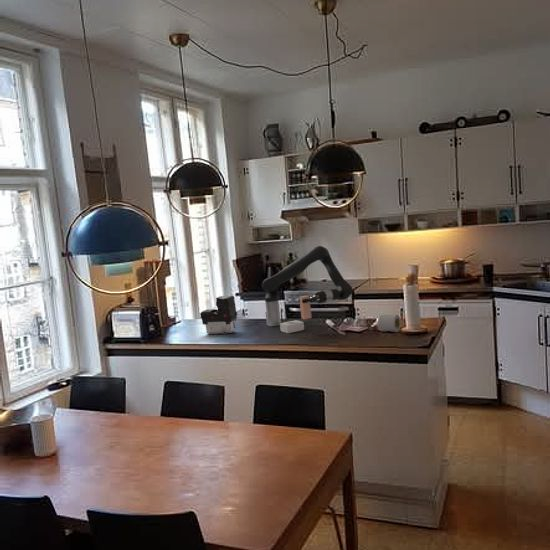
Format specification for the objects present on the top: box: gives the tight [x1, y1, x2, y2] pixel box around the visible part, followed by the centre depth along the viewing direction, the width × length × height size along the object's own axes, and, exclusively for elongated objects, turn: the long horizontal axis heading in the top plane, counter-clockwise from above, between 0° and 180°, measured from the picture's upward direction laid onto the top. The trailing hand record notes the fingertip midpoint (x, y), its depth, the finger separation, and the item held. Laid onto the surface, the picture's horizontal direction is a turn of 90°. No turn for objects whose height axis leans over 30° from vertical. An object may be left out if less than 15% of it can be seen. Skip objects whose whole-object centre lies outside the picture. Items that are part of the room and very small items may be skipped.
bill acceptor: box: [199, 294, 238, 335], centre depth 375 cm, size 10×23×25 cm, turn 70°
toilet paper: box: [377, 314, 402, 333], centre depth 330 cm, size 10×10×10 cm
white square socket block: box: [279, 319, 305, 334], centre depth 357 cm, size 12×10×6 cm
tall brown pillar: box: [298, 295, 313, 320], centre depth 346 cm, size 5×4×14 cm
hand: (300, 301), depth 345 cm, fingers closed on tall brown pillar, 4 cm apart
